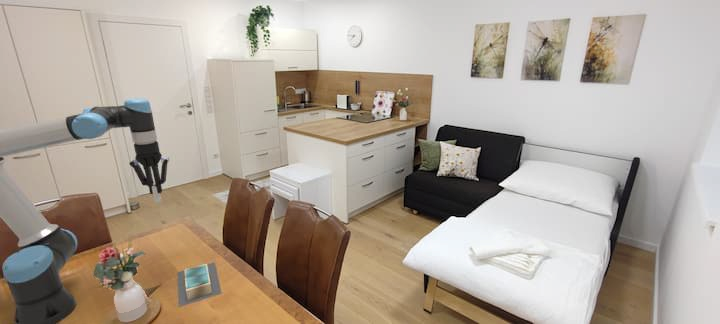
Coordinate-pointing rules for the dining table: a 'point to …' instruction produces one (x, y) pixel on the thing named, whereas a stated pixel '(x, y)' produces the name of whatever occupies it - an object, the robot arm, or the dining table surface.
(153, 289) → the shard
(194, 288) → the beige tall block
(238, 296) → the dining table surface
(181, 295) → the rubber mat
